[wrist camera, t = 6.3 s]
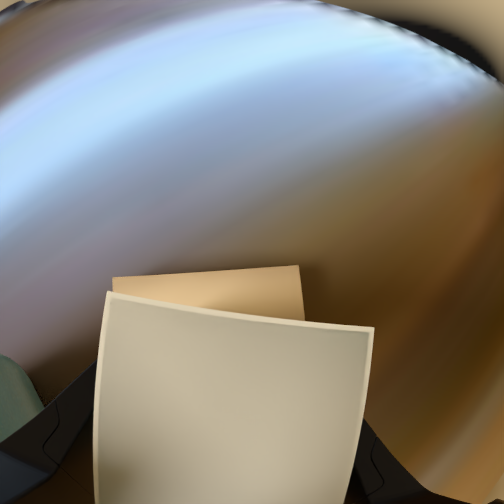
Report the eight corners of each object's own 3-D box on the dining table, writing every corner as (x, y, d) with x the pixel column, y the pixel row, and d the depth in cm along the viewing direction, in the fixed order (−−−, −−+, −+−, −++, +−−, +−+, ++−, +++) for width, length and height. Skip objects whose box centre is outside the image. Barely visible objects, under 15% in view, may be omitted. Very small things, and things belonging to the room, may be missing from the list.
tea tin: (253, 416, 16) (332, 538, 4) (162, 404, 15) (96, 521, 4) (264, 329, 17) (374, 327, 6) (173, 316, 17) (106, 290, 5)
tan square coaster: (301, 427, 19) (314, 440, 16) (142, 440, 17) (133, 456, 14) (286, 273, 21) (298, 264, 19) (125, 284, 20) (112, 277, 17)
